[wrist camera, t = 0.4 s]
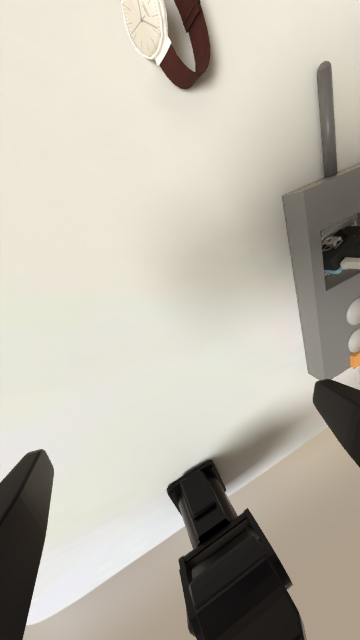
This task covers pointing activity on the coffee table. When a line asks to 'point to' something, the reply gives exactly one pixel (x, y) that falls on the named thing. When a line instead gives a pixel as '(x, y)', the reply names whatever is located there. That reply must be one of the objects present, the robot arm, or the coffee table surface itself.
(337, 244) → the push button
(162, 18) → the watch
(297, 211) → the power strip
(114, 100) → the coffee table surface
